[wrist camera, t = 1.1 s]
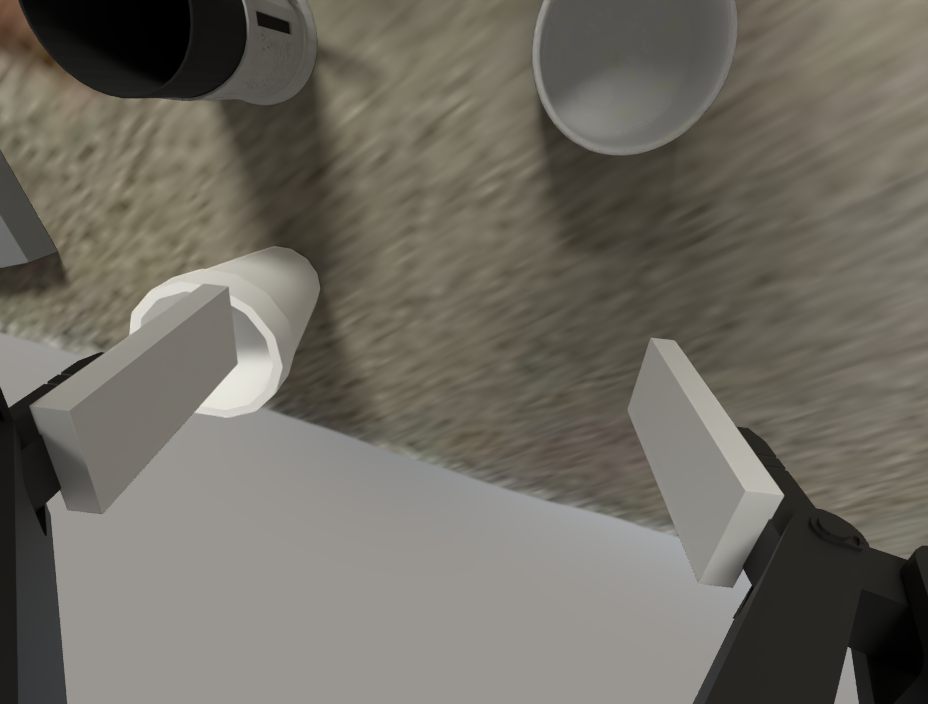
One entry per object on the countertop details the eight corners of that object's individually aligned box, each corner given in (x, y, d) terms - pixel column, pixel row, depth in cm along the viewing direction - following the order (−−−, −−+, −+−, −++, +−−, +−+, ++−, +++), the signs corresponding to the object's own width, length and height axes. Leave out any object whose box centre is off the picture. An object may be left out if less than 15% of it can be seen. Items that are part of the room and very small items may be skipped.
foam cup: (239, 208, 40) (136, 257, 28) (350, 253, 41) (296, 316, 30) (220, 310, 44) (124, 388, 33) (321, 347, 45) (264, 435, 34)
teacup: (570, 173, 38) (589, 192, 30) (494, 29, 34) (495, 13, 26) (758, 54, 34) (830, 44, 26) (697, -125, 30) (762, -193, 22)
